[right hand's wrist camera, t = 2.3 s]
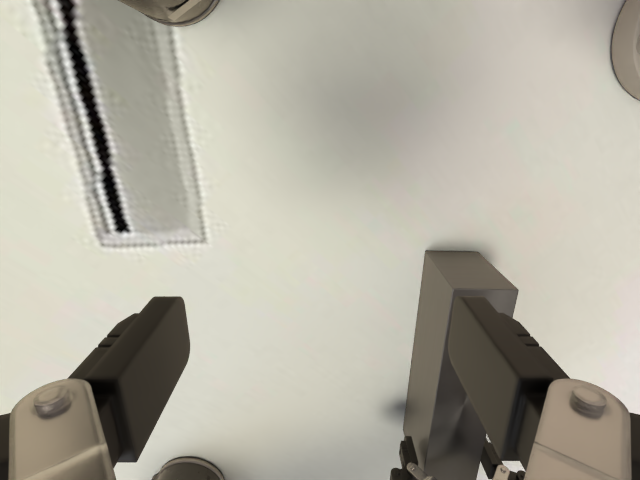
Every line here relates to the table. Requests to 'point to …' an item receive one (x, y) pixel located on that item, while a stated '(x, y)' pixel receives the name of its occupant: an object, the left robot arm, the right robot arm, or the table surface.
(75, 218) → the table surface
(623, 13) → the bust sculpture
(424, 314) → the bar
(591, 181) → the table surface
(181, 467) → the left robot arm
